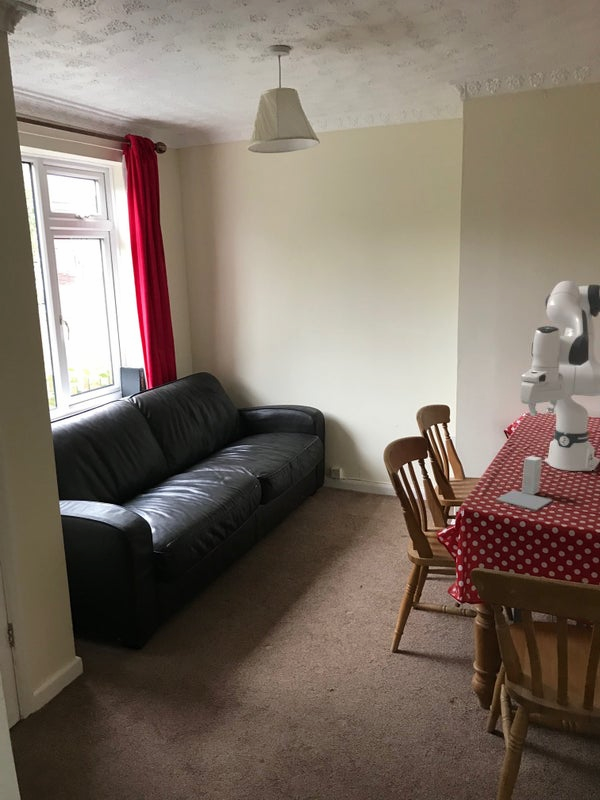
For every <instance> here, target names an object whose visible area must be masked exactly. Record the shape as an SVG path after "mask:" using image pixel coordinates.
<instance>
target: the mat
mask: <svg viewBox="0 0 600 800" xmlns="http://www.w3.org/2000/svg"><path fill="white" fill-rule="evenodd" d="M496 500H497V502H499V501H501V502H500V503H503V502H505V503H504V504H507V503H509V504H508V505H511V504H513V505H512V506H515V505H516V506H515V507H519V508H523V509H526V508H527V510H531V511H535V512H536V511H538V510H540V509H542V508H544V507H545V506H546V505H548V504H551V503H552V502H553V499H551V498H547V497H543V496H538V495H535V494H534V495H531V494H526V493H522V491H518V490H513V489H512V490H510V491H508V492H506V493H505V494H503V495H501V496H499V497H497V498H495V501H496Z"/></svg>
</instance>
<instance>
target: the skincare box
mask: <svg viewBox="0 0 600 800" xmlns="http://www.w3.org/2000/svg"><path fill="white" fill-rule="evenodd" d="M542 463H543V458H542V457H539V456H538V457H537V456H532V455H529V456H528V457H525V458H524V462H523V473H522V483H521V492H522V493H526V494H531V495H535V494H537V493H540V487H541V486H540V485H541V484H540V483H541V476H542V475H541V474H542Z"/></svg>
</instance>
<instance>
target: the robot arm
mask: <svg viewBox="0 0 600 800" xmlns="http://www.w3.org/2000/svg"><path fill="white" fill-rule="evenodd" d="M544 303H545V311H546V316H547V318H548V320H549V321H551V322H552V323H553V324H555V325H556V326H560V327H565V329H564V335H561V331H560V328H558V327H556V326H550V325H548V326H547V325H546V326H540V327H537V328H536V330H535V333H534V337H533V341H532V344H531V356H532V357H533V358H532V363H531V368H530V369H529V370H527V371H526V372H524V373H522V375H521V378H520V379H521V381H522V383H521V386H520V398H519V399H520V401H521V403H522V404H525V405H527V407H528V409H529V411H530V412H529V415H530V416H531V417H533V418H535V417H537V416H538V410H536V407H537V404H543V403H547V402H549V406H548V407H547V410H546V412H547V414H554V413H556V418H555V420H556V421H555V428H554V431H553V438H554V439H553V440H551V441H550V442H549V451H548V456H547V457H545V459H544V462H545V463H547V464H548V465H549V466H551V467H552V468H553V469H554V468H555V469H557V470H558V469H559V470H563V471H573V472H577V471H578V472H579V471H580V472H582V471H583V472H587V471H590V472H592V470H594V471H595V470H596V468H597V467H598V465H599V463H600V458H598V457H595V447H594V446H593V445H592V444H591V442H590V440H589V436H590V435H591V431H592V430H591V429H588V420H589V412H588V409H586V408H585V407H584V406H583V405H582V404H580V403H578V402H576V401H574V400H573V399H572V396H585V397H586V396H587V397H595V396H600V362H599V361H598V360H597V359H596V356H595V338H596V337H595V332H596V331H595V325H594V320H593V317H594V318H596V317H598V315H599V313H600V284H589V285H580V286H579V285H578V284H577V283H576V282H574V281H571V280H563V281H560V282H558V283H557V284H556V285H554V288H553V290H552V291H551V292H550V293H549V294H548V295H547V296H546V299H545V301H544ZM561 364H562V365H561Z"/></svg>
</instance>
